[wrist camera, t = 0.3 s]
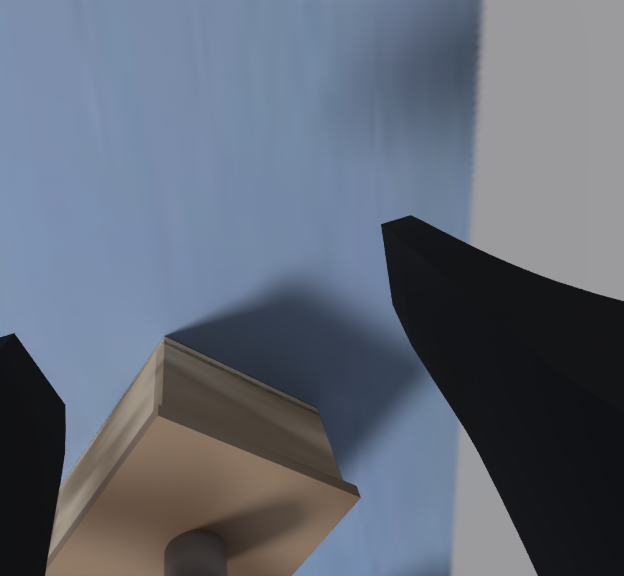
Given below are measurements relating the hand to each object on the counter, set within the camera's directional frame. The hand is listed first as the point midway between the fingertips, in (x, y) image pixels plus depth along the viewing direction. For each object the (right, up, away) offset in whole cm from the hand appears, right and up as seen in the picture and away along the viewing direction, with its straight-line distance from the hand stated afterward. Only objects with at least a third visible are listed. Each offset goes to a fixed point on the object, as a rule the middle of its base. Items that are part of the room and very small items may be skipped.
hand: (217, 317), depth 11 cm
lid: (-3, -9, +10) cm, 14 cm away
